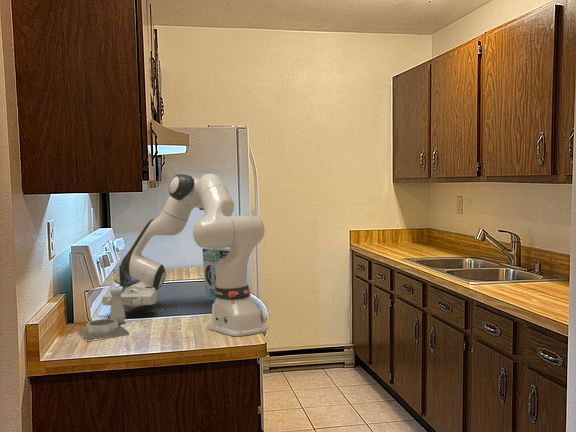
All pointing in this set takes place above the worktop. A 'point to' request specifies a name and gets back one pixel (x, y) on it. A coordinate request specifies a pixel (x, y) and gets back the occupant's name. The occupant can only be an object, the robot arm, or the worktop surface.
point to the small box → (127, 279)
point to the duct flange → (102, 329)
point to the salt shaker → (117, 306)
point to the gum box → (212, 269)
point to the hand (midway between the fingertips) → (120, 303)
